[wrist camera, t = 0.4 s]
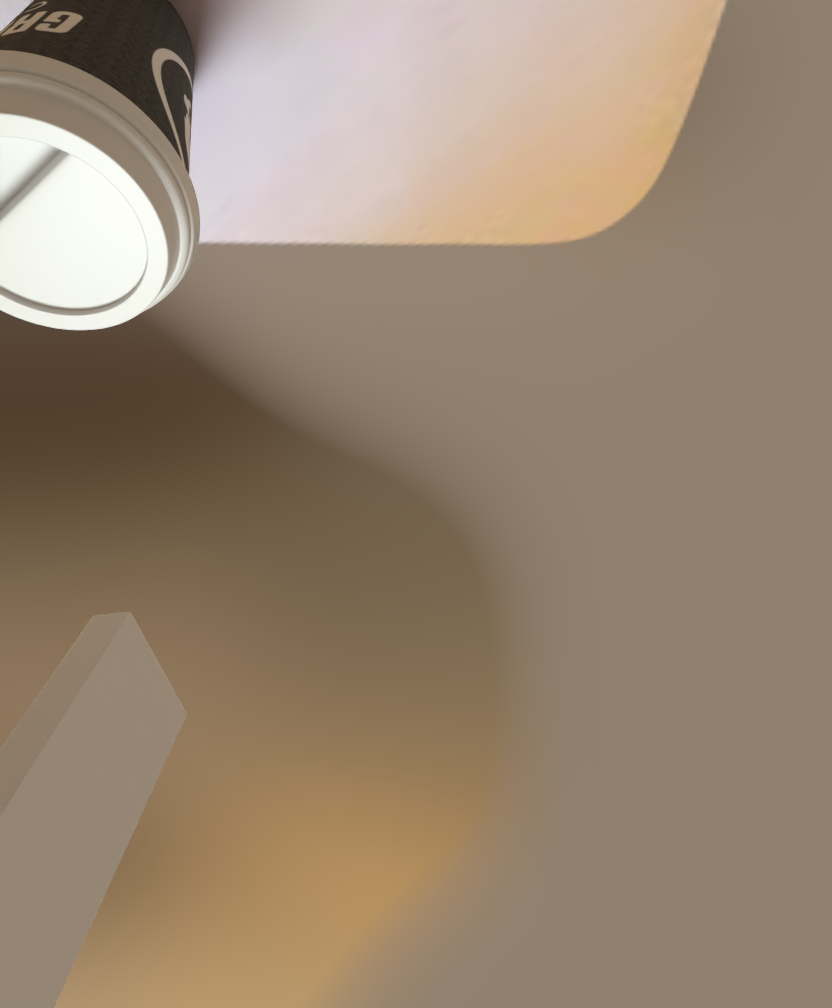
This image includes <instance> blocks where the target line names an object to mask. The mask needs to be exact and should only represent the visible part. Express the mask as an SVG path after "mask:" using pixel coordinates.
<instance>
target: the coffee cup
mask: <svg viewBox="0 0 832 1008" xmlns="http://www.w3.org/2000/svg"><path fill="white" fill-rule="evenodd" d="M193 77H194V58H193V50H192V46H191V42H190V38H189V36H188V33H187V30H186V28H185V26H184V24H183V22H182V20H181V18H180V16H179V15H178V13H177V12H176V10H175V9H174V7H173V6H172V5H171V3H170V2H169V1H168V0H34V1H33V2H32V3H31V4H30V5H29V6H28V7H27V8H26V9H24V10H23V11H22V12H21V13H20V14H19V15H18V16H17V17H16V18H15V19H14V20H13V21H12V22H10V23H9V24H8V25H7V26H6V27H5V28H4V29H3V30H2V31H1V32H0V310H1V311H4V312H6V313H8V314H10V315H13V316H15V317H17V318H20V319H23V320H26V321H29V322H32V323H35V324H39V325H43V326H48V327H53V328H59V329H67V330H93V329H101V328H106V327H111V326H114V325H118V324H120V323H123V322H126V321H128V320H130V319H132V318H133V317H135V316H137V315H138V314H140V313H141V312H143V311H145V310H147V309H149V308H151V307H152V306H154V305H155V304H157V303H158V302H159V301H161V300H162V299H163V298H165V297H166V296H167V295H168V294H169V293H170V292H171V291H172V290H173V289H174V288H175V287H176V286H177V284H178V283H179V282H180V281H181V279H182V278H183V277H184V275H185V274H186V272H187V271H188V269H189V268H190V266H191V264H192V261H193V259H194V257H195V253H196V250H197V247H198V242H199V235H200V215H199V207H198V202H197V198H196V194H195V190H194V187H193V184H192V182H191V179H190V177H189V163H190V140H191V118H192V98H193Z"/></svg>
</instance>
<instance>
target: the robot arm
mask: <svg viewBox="0 0 832 1008" xmlns="http://www.w3.org/2000/svg"><path fill="white" fill-rule="evenodd" d="M186 715H187V713H186V711H185V710H184V708H183V706H182V704H181V702H180V701H179V699H178V697H177V695H176V694H175V691H174V690H173V688H172V686H171V684H170V683H169V681H168V679H167V677H166V675H165V674H164V672H163V670H162V668H161V666H160V664H159V663H158V661H157V659H156V657H155V655H154V654H153V652H152V650H151V648H150V646H149V644H148V643H147V641H146V639H145V637H144V636H143V634H142V632H141V630H140V628H139V627H138V625H137V623H136V621H135V619H134V617H133V616H132V614H131V612H122V613H113V614H104V615H95V616H92V618H91V620H90V621H89V622H88V624H87V625H86V627H85V628H84V629H83V631H82V632H81V634H80V635H79V637H78V638H77V639H76V641H75V643H74V644H73V645H72V647H71V648H70V650H69V651H68V652H67V654H66V655H65V657H64V658H63V660H62V661H61V663H60V664H59V665H58V667H57V668H56V670H55V671H54V673H53V674H52V675H51V677H50V678H49V680H48V681H47V683H46V684H45V686H44V687H43V688H42V690H41V691H40V693H39V694H38V696H37V697H36V698H35V700H34V701H33V703H32V704H31V706H30V707H29V709H28V710H27V711H26V713H25V714H24V716H23V717H22V719H21V720H20V722H19V723H18V724H17V726H16V727H15V729H14V730H13V732H12V733H11V734H10V736H9V737H8V739H7V740H6V742H5V743H4V744H3V746H2V747H1V749H0V1008H54V1006H55V1004H56V1001H57V999H58V997H59V995H60V993H61V991H62V988H63V986H64V984H65V982H66V979H67V977H68V975H69V973H70V971H71V968H72V966H73V964H74V962H75V960H76V957H77V955H78V953H79V951H80V949H81V946H82V944H83V942H84V940H85V938H86V935H87V933H88V931H89V929H90V926H91V924H92V922H93V920H94V918H95V916H96V913H97V911H98V909H99V907H100V904H101V902H102V900H103V898H104V896H105V894H106V891H107V889H108V887H109V885H110V882H111V880H112V878H113V876H114V874H115V872H116V869H117V867H118V865H119V862H120V860H121V858H122V856H123V854H124V852H125V850H126V847H127V845H128V843H129V841H130V839H131V836H132V834H133V832H134V829H135V827H136V825H137V823H138V821H139V819H140V816H141V814H142V812H143V810H144V807H145V805H146V803H147V801H148V799H149V796H150V794H151V792H152V790H153V788H154V786H155V783H156V781H157V779H158V777H159V774H160V772H161V770H162V768H163V766H164V764H165V761H166V759H167V757H168V755H169V753H170V750H171V748H172V746H173V744H174V742H175V739H176V737H177V735H178V733H179V731H180V728H181V726H182V724H183V722H184V719H185V717H186Z"/></svg>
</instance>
